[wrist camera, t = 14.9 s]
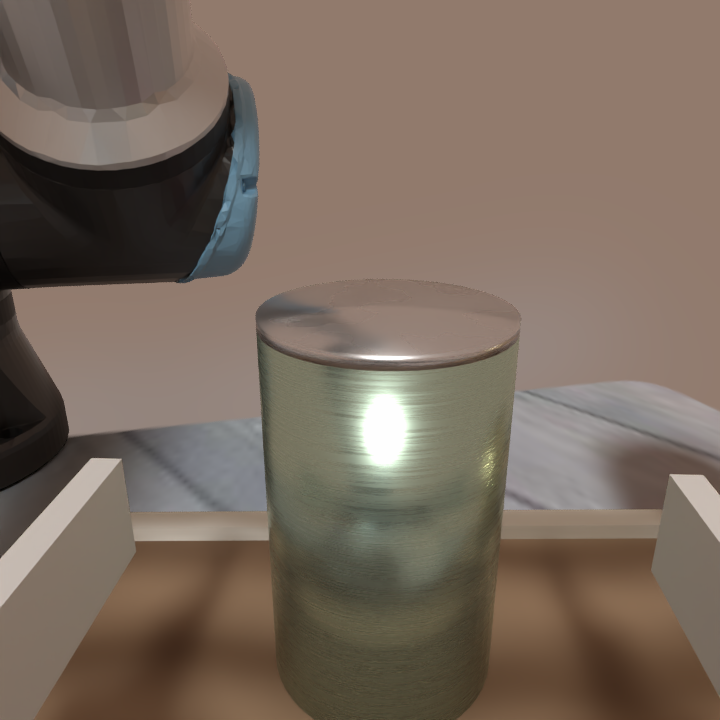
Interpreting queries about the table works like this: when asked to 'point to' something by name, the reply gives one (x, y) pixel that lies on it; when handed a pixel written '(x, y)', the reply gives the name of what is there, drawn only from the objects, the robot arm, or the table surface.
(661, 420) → the table surface
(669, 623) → the wooden tray
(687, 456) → the table surface
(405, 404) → the green tin
